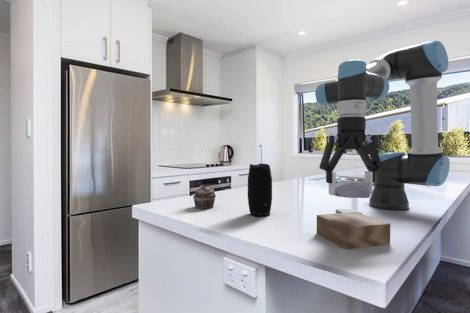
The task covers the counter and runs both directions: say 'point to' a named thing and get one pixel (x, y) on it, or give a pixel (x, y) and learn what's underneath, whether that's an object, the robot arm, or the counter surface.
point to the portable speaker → (259, 189)
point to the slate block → (346, 210)
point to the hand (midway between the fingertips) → (350, 194)
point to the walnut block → (353, 230)
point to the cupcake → (204, 197)
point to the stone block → (352, 189)
